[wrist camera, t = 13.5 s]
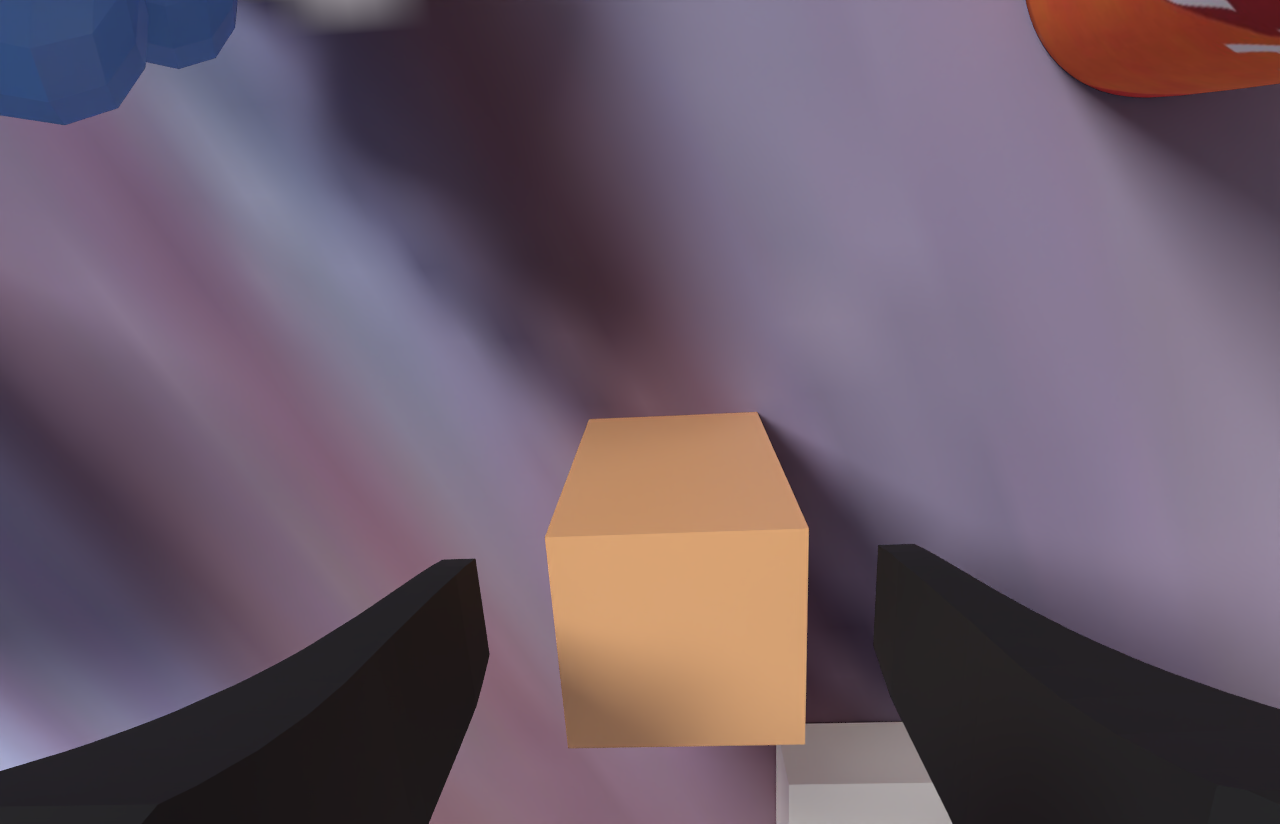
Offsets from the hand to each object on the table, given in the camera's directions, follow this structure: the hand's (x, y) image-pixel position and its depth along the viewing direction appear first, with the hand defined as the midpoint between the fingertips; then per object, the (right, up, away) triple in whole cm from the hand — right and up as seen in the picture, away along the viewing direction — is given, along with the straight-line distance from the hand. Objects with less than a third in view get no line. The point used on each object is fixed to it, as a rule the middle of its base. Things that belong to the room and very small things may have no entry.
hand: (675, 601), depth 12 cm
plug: (0, +1, +5) cm, 5 cm away
